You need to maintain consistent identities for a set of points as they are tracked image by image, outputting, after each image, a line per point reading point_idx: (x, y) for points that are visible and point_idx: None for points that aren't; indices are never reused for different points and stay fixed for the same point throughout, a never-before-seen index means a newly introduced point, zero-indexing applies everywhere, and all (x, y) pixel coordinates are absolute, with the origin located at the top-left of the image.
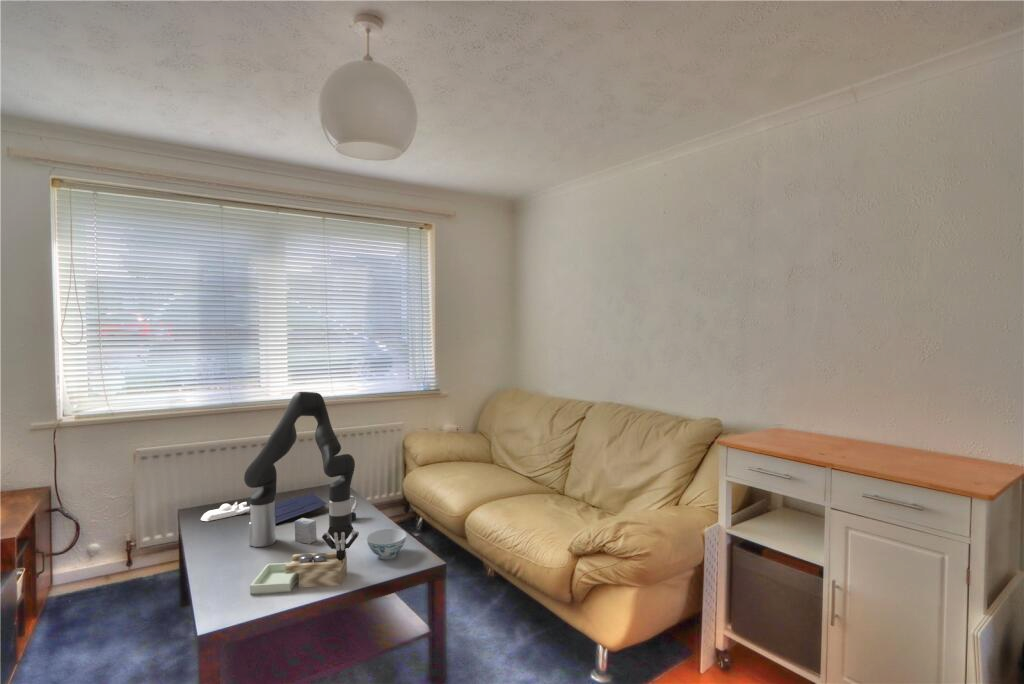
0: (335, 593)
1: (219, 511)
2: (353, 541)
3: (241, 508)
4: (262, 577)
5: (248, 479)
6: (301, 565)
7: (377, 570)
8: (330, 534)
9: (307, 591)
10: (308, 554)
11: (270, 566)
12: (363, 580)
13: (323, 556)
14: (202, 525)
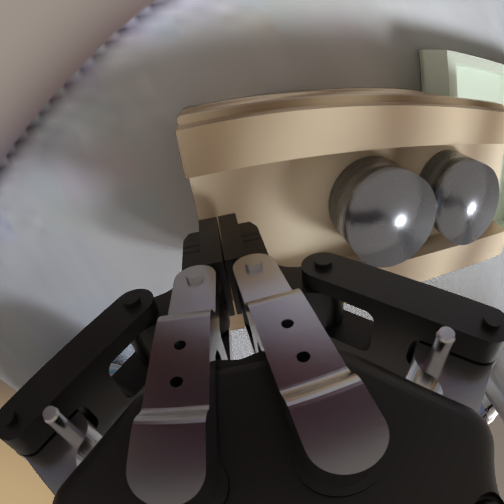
0: (176, 17)
1: None
2: (56, 358)
3: (496, 411)
4: None
5: None
6: (468, 109)
7: (71, 281)
8: (432, 395)
9: (346, 41)
10: (462, 235)
11: None
12: (80, 177)
13: (371, 209)
14: None
